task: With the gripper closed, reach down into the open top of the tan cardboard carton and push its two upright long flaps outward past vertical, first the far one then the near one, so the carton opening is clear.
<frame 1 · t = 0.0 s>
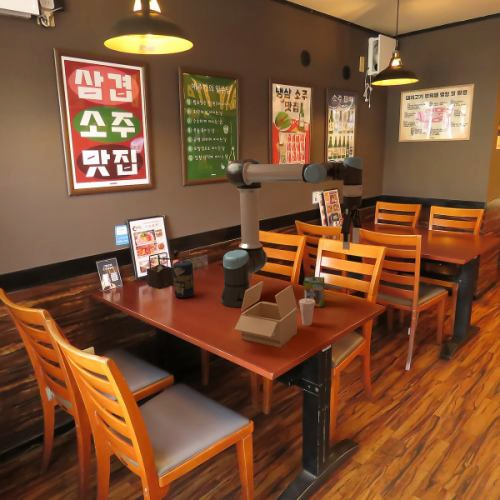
hand: (351, 246, 179), 28 cm above the table, tool pointing down, fingers open, 13 cm apart
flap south: (255, 325, 149), point 8 cm above the table, hinge at 215.0°
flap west: (252, 295, 160), point 15 cm above the table, hinge at 75.0°
smoothie: (307, 324, 170), on the table
dark condiment caddy: (165, 284, 229), on the table
chalk box: (314, 304, 193), on the table
canister: (184, 296, 208), on the table
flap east: (286, 301, 153), point 15 cm above the table, hinge at 75.0°
carton: (269, 336, 160), on the table
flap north: (281, 306, 167), point 8 cm above the table, hinge at 215.0°
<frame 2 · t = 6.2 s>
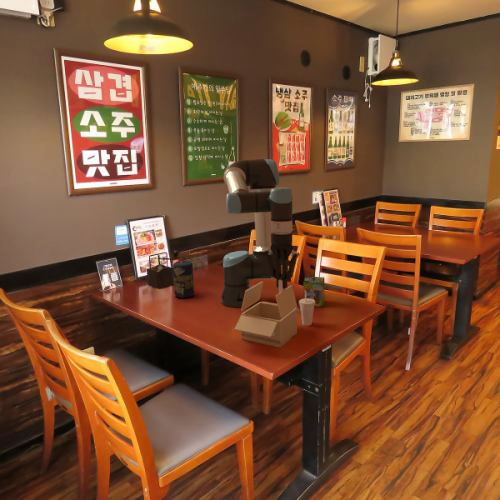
hand: (282, 296, 153), 17 cm above the table, tool pointing down, fingers closed
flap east: (286, 301, 153), point 15 cm above the table, hinge at 76.3°, touching gripper
everything else where it was.
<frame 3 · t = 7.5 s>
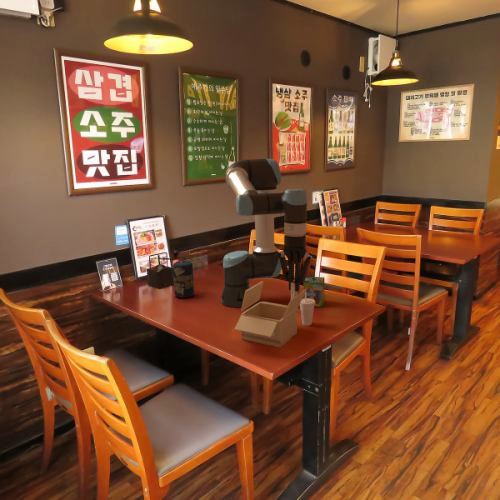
hand: (294, 299, 151), 16 cm above the table, tool pointing down, fingers closed
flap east: (294, 303, 152), point 15 cm above the table, hinge at 114.8°, touching gripper
everything else where it was.
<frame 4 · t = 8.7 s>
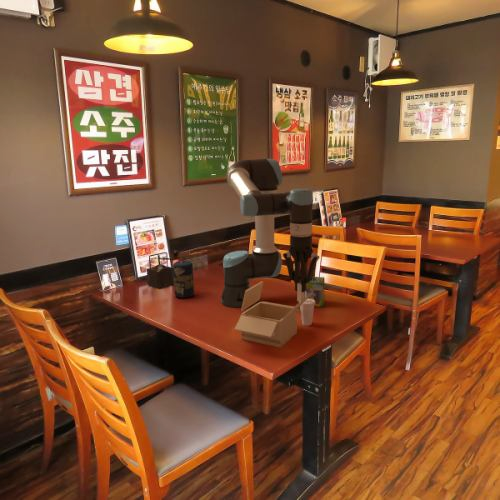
hand: (300, 300, 150), 16 cm above the table, tool pointing down, fingers closed
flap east: (297, 305, 151), point 14 cm above the table, hinge at 131.8°, touching gripper
everything else where it was.
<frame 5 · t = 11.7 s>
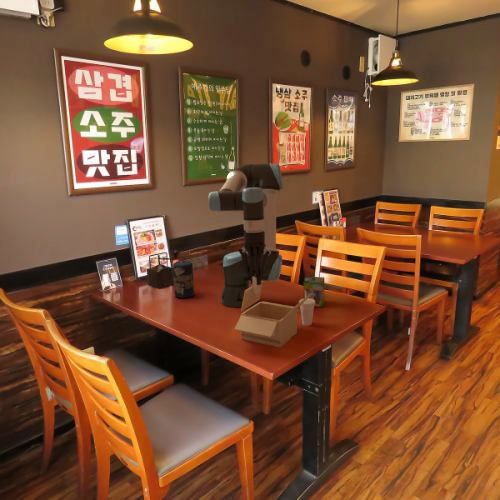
hand: (256, 292, 159), 16 cm above the table, tool pointing down, fingers closed
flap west: (252, 295, 160), point 15 cm above the table, hinge at 76.4°, touching gripper
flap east: (297, 305, 151), point 14 cm above the table, hinge at 132.0°
everything else where it was.
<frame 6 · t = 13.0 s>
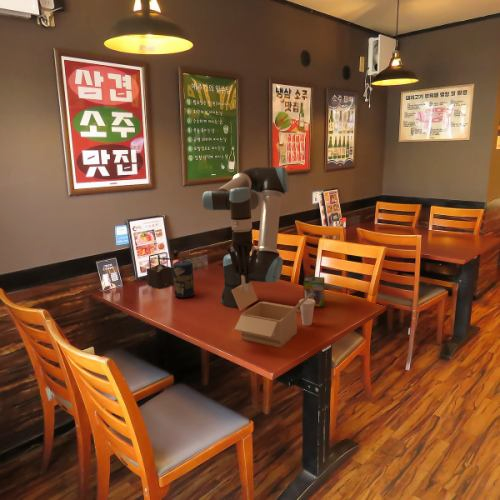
hand: (245, 291, 161), 16 cm above the table, tool pointing down, fingers closed
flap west: (245, 295, 162), point 15 cm above the table, hinge at 114.4°, touching gripper
everything else where it was.
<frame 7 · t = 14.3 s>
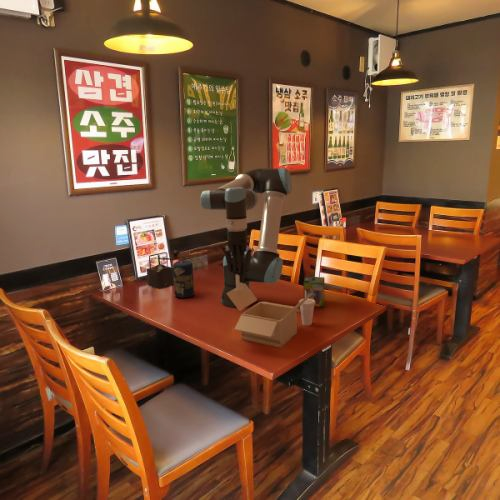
hand: (239, 290, 163), 16 cm above the table, tool pointing down, fingers closed
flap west: (242, 296, 163), point 14 cm above the table, hinge at 131.6°, touching gripper
everything else where it was.
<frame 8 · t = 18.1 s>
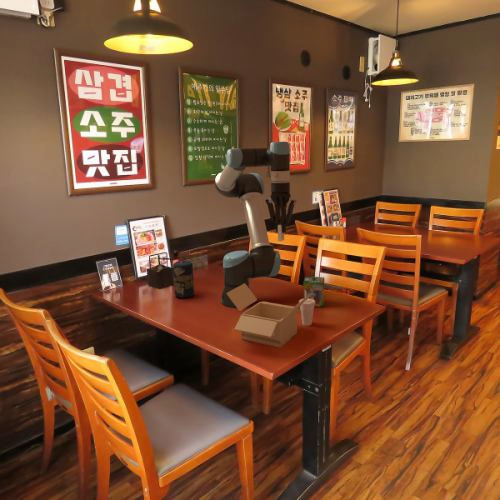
hand: (281, 240, 173), 32 cm above the table, tool pointing down, fingers closed
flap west: (242, 296, 163), point 14 cm above the table, hinge at 131.7°
everything else where it was.
at the end: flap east at +132° (first picture: +75°); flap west at +132° (first picture: +75°) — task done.
